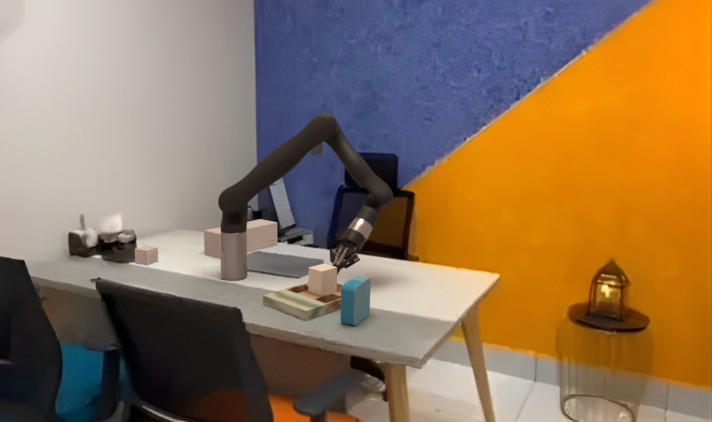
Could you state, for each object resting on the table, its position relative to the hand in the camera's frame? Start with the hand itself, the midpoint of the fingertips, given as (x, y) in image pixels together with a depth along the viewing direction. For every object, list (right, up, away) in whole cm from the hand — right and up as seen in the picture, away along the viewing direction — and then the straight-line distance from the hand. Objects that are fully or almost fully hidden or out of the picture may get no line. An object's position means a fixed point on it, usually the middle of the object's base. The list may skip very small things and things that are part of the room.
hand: (331, 275), depth 194 cm
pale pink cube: (-74, +1, +37) cm, 83 cm away
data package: (+8, -11, -18) cm, 23 cm away
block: (-3, -5, -2) cm, 6 cm away
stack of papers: (-41, +4, +60) cm, 73 cm away
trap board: (-5, -8, -4) cm, 11 cm away
